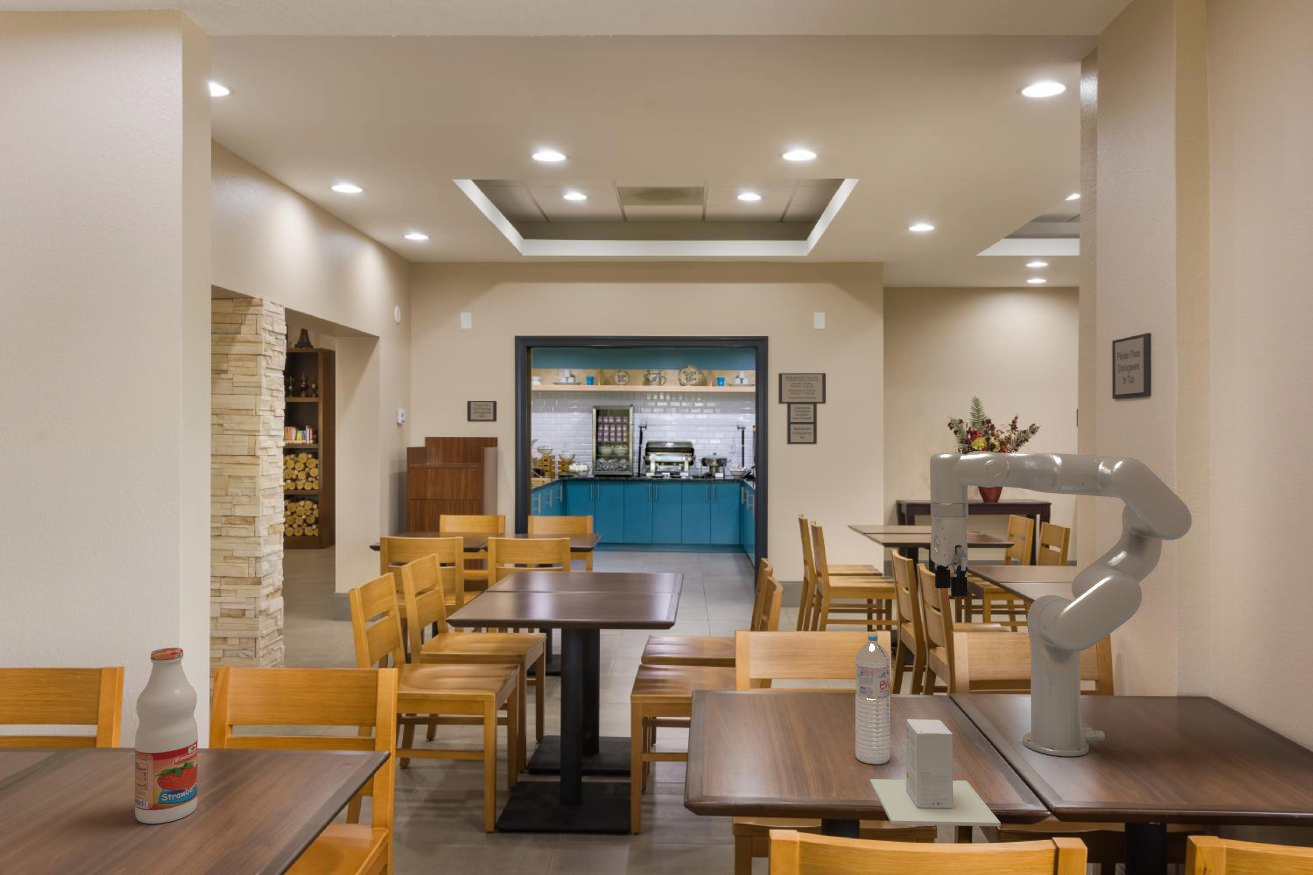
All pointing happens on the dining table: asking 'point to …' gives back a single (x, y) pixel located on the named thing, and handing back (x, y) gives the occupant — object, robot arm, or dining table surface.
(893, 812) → the mat
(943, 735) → the small box
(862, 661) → the water bottle
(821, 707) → the dining table surface
